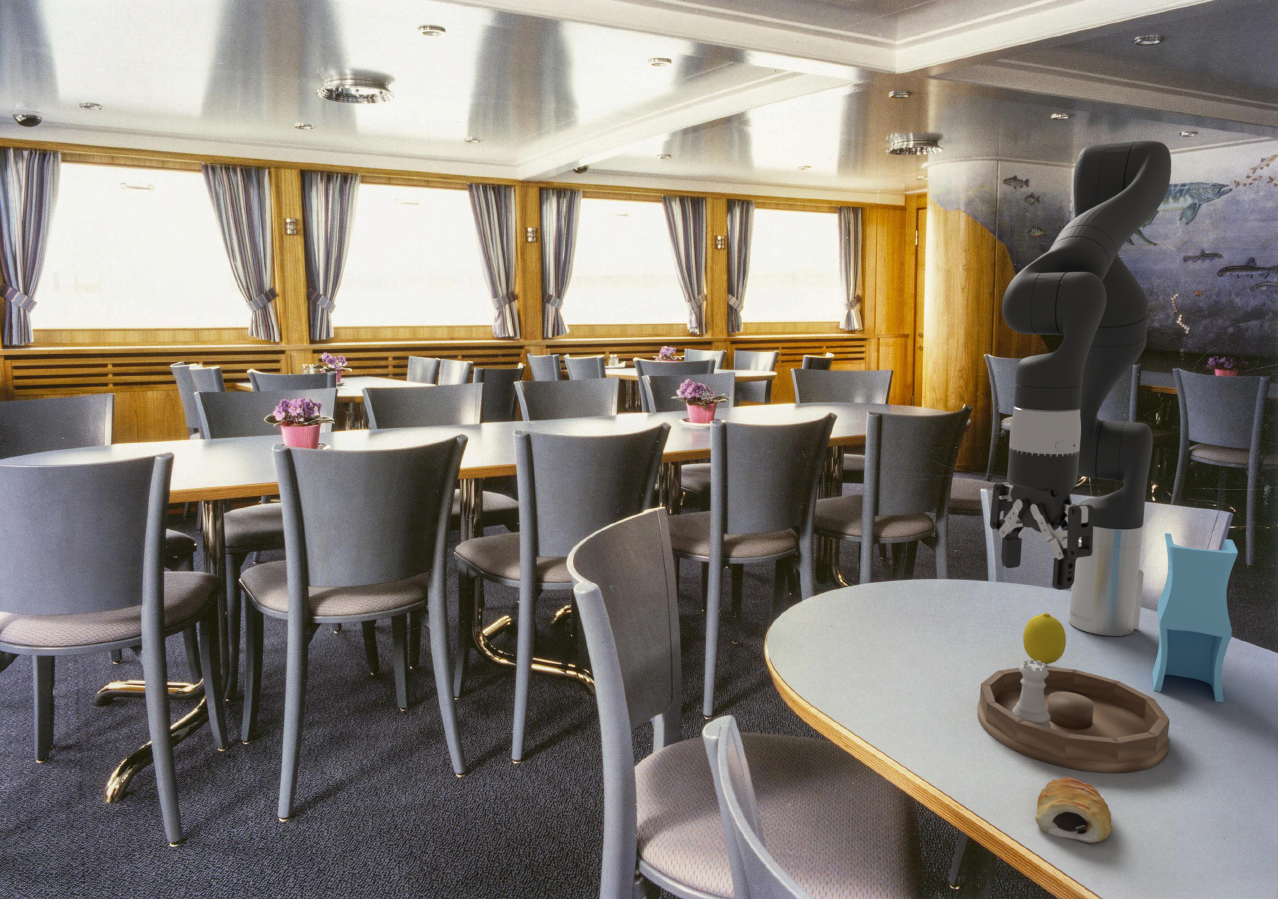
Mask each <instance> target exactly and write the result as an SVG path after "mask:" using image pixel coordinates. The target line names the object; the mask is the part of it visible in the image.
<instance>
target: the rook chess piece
mask: <svg viewBox="0 0 1278 899" xmlns="http://www.w3.org/2000/svg"><path fill="white" fill-rule="evenodd" d="M1046 667H1047V665H1046V664H1045V663H1042V662H1041V661H1037V662H1036V663H1035V661H1034V660H1033V659H1028V660H1027V659H1025V660H1023V662H1022V665H1021V666H1020V667H1019V668H1020V669H1019V670H1020V672H1021V673H1022V675H1023V679H1022V680H1021V681H1020V682H1021V683H1022V691H1021V695H1020V699H1019V702H1017V704H1016V706H1015V707H1014V708H1013V711H1012V713H1013V714H1015V715H1016V716H1018V717H1019V718H1021V719H1022V720H1025V721H1028V722H1031V723H1034V724H1038V725H1041V726H1044V727H1047V728H1050V727H1051V724H1050V723H1049V721H1050V719H1051V717H1050V714H1049V713H1048V712H1047V708H1046V706H1045V702H1044V688H1045V687H1046V684H1045V683H1044V679H1045V678H1046V677H1047V676H1048V675H1049V672H1048V671H1047V670H1046Z"/></svg>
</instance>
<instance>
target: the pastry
mask: <svg viewBox="0 0 1278 899" xmlns="http://www.w3.org/2000/svg"><path fill="white" fill-rule="evenodd" d="M1036 808H1037V810H1036V816H1035V817H1034V819H1035V822H1036V825H1037V826H1038V827H1039V828H1040V831H1041V832H1043V833H1048V834H1049V835H1050V836H1055V837H1058V838H1062V839H1063V838H1064V839H1068V840H1070V839H1071V840H1076V841H1080V842H1083V843H1089V844H1090V843H1091V844H1095V843H1100V842H1103V841H1105V840H1106V839H1107V838H1108V837H1109V836H1110V834H1111V832H1112V831H1113V825H1112V817H1111V816H1112V813H1111V810H1110V809H1109V805H1108V804H1107V802H1106V801H1105V798H1103V797H1102V796H1101V794H1100V792H1099V791H1098V790H1097V789H1096V788H1095V787H1094V786H1093V785H1092V784H1090V783H1086V782H1084V781H1082V780H1079V779H1077V778H1075V777H1072V776H1071V777H1070V776H1069V777H1068V776H1067V777H1061V778H1058V779H1052V780H1051V781H1050V782H1048V783H1047V784H1046V785H1045V787H1044V788H1043V789H1042V790H1041V791H1040V793H1039V795H1038V798H1037V803H1036Z"/></svg>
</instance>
